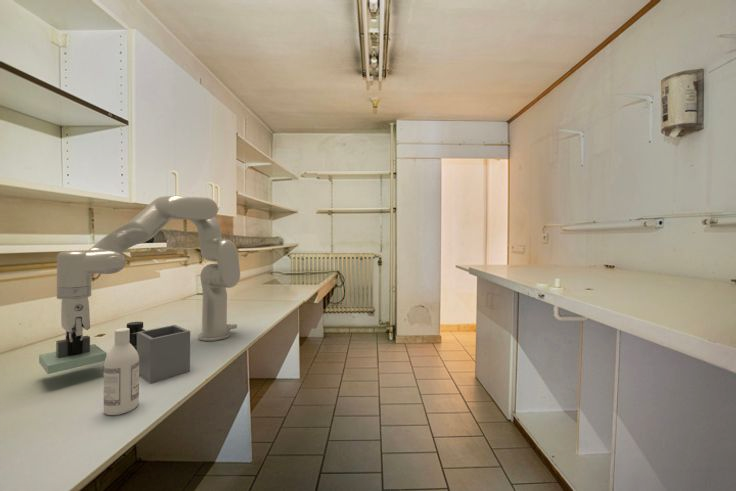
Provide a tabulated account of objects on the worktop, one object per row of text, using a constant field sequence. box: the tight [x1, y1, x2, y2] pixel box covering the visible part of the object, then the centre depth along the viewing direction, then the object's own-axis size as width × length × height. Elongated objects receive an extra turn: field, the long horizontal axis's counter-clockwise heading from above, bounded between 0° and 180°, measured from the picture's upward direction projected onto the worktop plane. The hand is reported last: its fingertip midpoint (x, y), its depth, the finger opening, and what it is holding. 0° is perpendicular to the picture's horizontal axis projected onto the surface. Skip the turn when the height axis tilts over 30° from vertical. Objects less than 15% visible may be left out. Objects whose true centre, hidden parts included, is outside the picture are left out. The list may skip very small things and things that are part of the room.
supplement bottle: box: [125, 321, 146, 351], centre depth 111 cm, size 7×7×12 cm
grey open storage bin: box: [137, 324, 191, 384], centre depth 99 cm, size 11×11×13 cm
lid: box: [38, 335, 108, 375], centre depth 93 cm, size 13×13×7 cm
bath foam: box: [103, 327, 140, 416], centre depth 78 cm, size 7×7×20 cm
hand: (73, 352), depth 93 cm, fingers closed on lid, 2 cm apart
